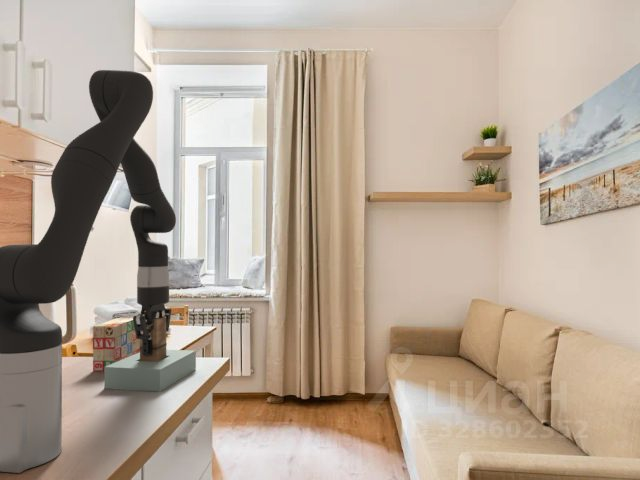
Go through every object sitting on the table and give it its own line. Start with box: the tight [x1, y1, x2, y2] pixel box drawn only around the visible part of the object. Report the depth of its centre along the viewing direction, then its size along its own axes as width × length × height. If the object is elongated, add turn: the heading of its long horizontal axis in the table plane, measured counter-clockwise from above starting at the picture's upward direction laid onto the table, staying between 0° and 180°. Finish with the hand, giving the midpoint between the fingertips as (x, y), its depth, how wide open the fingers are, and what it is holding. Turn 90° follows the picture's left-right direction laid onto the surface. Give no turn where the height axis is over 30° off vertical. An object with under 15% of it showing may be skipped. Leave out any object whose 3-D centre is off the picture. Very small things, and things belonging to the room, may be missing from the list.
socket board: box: [103, 349, 197, 392], centre depth 109 cm, size 18×14×5 cm
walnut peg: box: [140, 317, 168, 362], centre depth 109 cm, size 5×5×12 cm
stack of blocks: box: [92, 317, 140, 372], centre depth 126 cm, size 21×6×12 cm, turn 176°
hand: (153, 352), depth 109 cm, fingers closed on walnut peg, 4 cm apart
